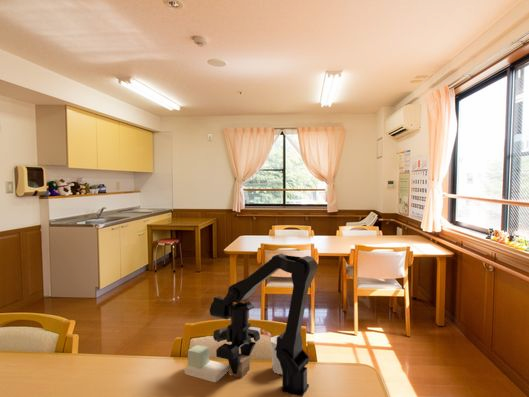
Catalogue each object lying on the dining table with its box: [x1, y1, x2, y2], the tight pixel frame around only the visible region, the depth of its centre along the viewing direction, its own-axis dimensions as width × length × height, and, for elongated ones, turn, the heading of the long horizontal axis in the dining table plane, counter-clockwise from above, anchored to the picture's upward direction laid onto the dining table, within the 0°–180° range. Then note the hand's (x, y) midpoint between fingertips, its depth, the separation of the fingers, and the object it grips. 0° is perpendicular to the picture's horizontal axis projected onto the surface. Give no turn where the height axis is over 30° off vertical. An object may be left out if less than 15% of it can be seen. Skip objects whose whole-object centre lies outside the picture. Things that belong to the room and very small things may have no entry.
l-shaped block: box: [184, 344, 229, 384], centre depth 107 cm, size 12×8×7 cm, turn 64°
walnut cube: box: [228, 355, 251, 379], centre depth 107 cm, size 5×5×5 cm
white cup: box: [270, 334, 282, 376], centre depth 109 cm, size 8×8×10 cm
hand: (239, 369), depth 107 cm, fingers open, 6 cm apart
